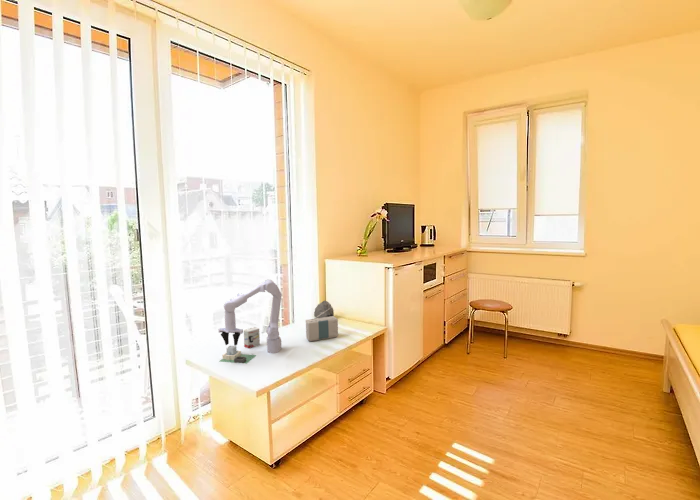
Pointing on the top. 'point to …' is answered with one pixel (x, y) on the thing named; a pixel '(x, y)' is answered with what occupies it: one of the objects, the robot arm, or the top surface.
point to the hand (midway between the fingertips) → (231, 344)
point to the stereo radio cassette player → (321, 328)
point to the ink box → (251, 337)
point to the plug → (231, 350)
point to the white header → (231, 356)
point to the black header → (239, 359)
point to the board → (248, 357)
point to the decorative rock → (323, 310)
